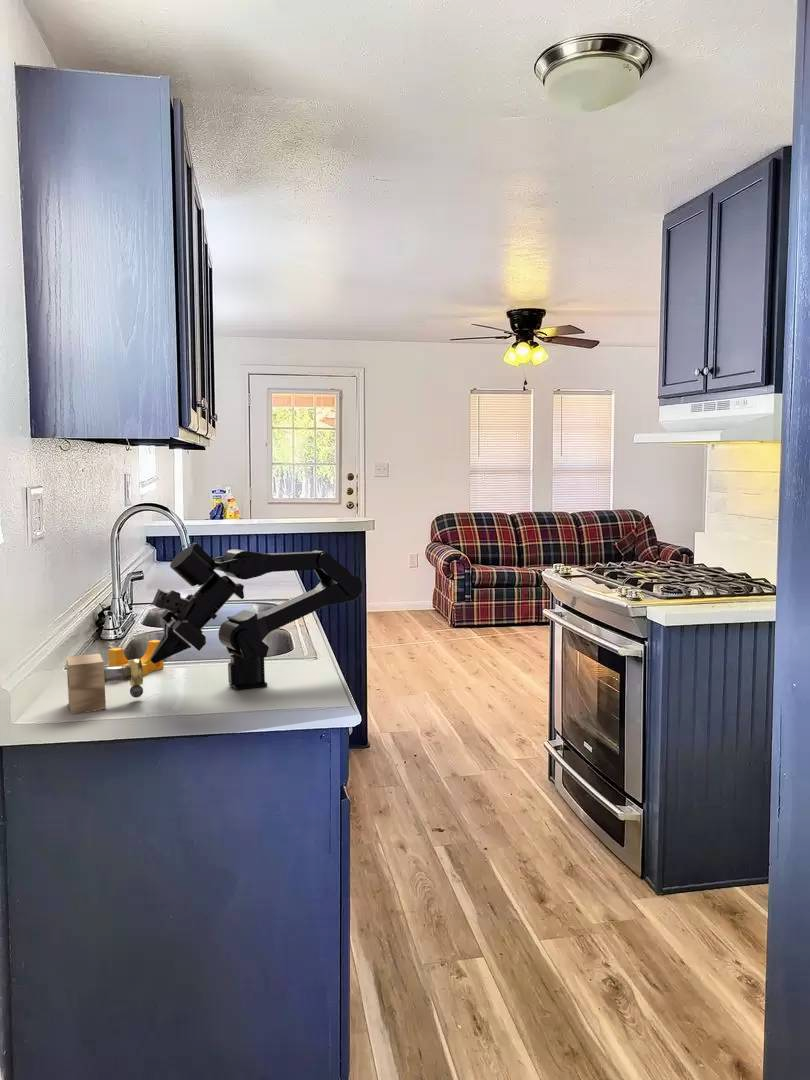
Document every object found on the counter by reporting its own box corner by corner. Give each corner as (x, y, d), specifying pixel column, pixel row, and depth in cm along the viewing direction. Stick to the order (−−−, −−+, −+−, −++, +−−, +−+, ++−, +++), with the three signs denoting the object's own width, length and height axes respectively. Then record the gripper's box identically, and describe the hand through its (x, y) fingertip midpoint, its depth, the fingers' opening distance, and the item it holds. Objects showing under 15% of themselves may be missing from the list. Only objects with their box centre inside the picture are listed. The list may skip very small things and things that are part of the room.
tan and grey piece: (141, 693, 163) (139, 656, 163) (145, 699, 159) (143, 661, 158) (88, 699, 159) (86, 661, 159) (90, 706, 155) (88, 667, 154)
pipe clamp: (121, 681, 176) (120, 651, 176) (109, 679, 179) (108, 649, 178) (168, 670, 186) (167, 641, 185) (156, 667, 189) (155, 639, 188)
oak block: (102, 699, 162) (99, 653, 161) (105, 709, 155) (103, 661, 154) (68, 703, 159) (66, 656, 159) (71, 714, 152) (68, 665, 151)
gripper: (169, 569, 171) (114, 627, 167) (186, 579, 154) (125, 644, 150) (209, 604, 175) (156, 662, 171) (229, 617, 158) (172, 682, 154)
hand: (152, 661), depth 161 cm, fingers closed
